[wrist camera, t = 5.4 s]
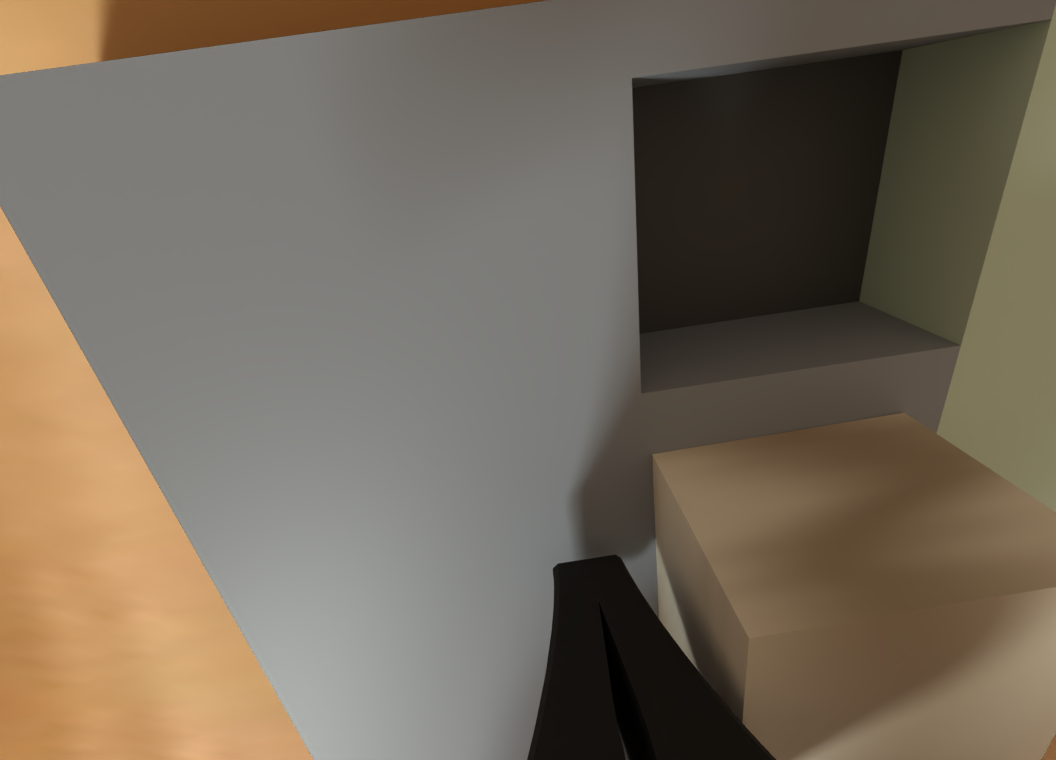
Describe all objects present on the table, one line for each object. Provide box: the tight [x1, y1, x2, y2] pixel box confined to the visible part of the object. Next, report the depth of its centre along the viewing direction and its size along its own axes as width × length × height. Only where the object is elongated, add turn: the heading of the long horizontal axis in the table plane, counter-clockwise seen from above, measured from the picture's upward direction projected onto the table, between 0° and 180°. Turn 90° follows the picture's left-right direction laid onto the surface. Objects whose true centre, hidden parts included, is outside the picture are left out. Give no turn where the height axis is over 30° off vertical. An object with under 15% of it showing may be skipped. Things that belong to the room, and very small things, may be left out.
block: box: [652, 413, 1056, 760], centre depth 9 cm, size 5×5×4 cm
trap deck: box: [0, 0, 1056, 760], centre depth 12 cm, size 15×20×3 cm
